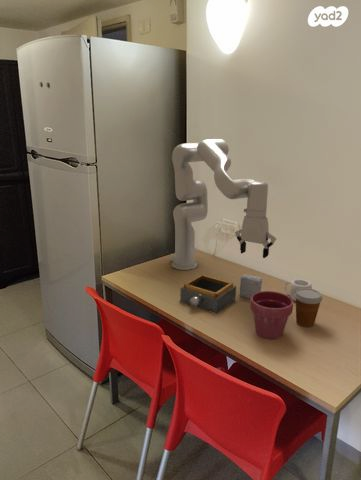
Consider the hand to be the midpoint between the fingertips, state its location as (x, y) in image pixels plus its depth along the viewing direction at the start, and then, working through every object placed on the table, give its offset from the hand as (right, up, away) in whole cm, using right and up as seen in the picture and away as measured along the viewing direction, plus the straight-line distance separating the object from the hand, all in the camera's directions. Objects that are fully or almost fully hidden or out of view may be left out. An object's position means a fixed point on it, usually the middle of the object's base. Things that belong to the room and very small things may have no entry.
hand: (253, 254), depth 159 cm
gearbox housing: (-19, -19, 0) cm, 27 cm away
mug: (+18, -18, +5) cm, 27 cm away
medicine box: (0, -18, +6) cm, 19 cm away
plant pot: (+1, -26, -21) cm, 34 cm away
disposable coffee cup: (+16, -25, -15) cm, 33 cm away
